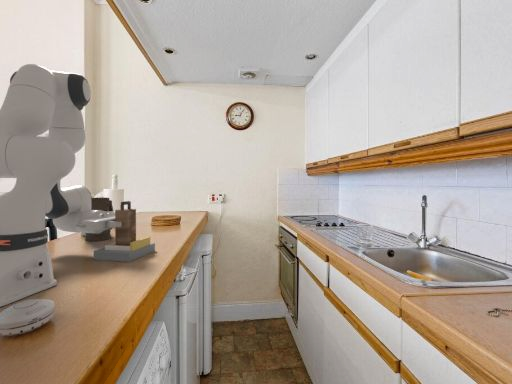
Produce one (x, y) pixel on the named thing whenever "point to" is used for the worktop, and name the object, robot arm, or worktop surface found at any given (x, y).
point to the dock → (125, 251)
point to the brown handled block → (125, 225)
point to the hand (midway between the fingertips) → (128, 223)
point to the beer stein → (102, 205)
